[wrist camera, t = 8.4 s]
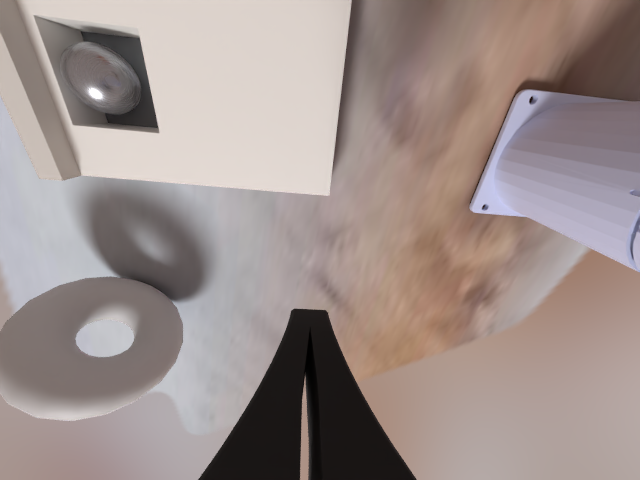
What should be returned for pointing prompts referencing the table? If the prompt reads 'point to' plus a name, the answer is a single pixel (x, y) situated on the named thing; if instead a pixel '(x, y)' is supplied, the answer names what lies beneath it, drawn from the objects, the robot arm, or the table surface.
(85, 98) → the ball
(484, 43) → the table surface
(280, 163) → the board
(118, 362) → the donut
